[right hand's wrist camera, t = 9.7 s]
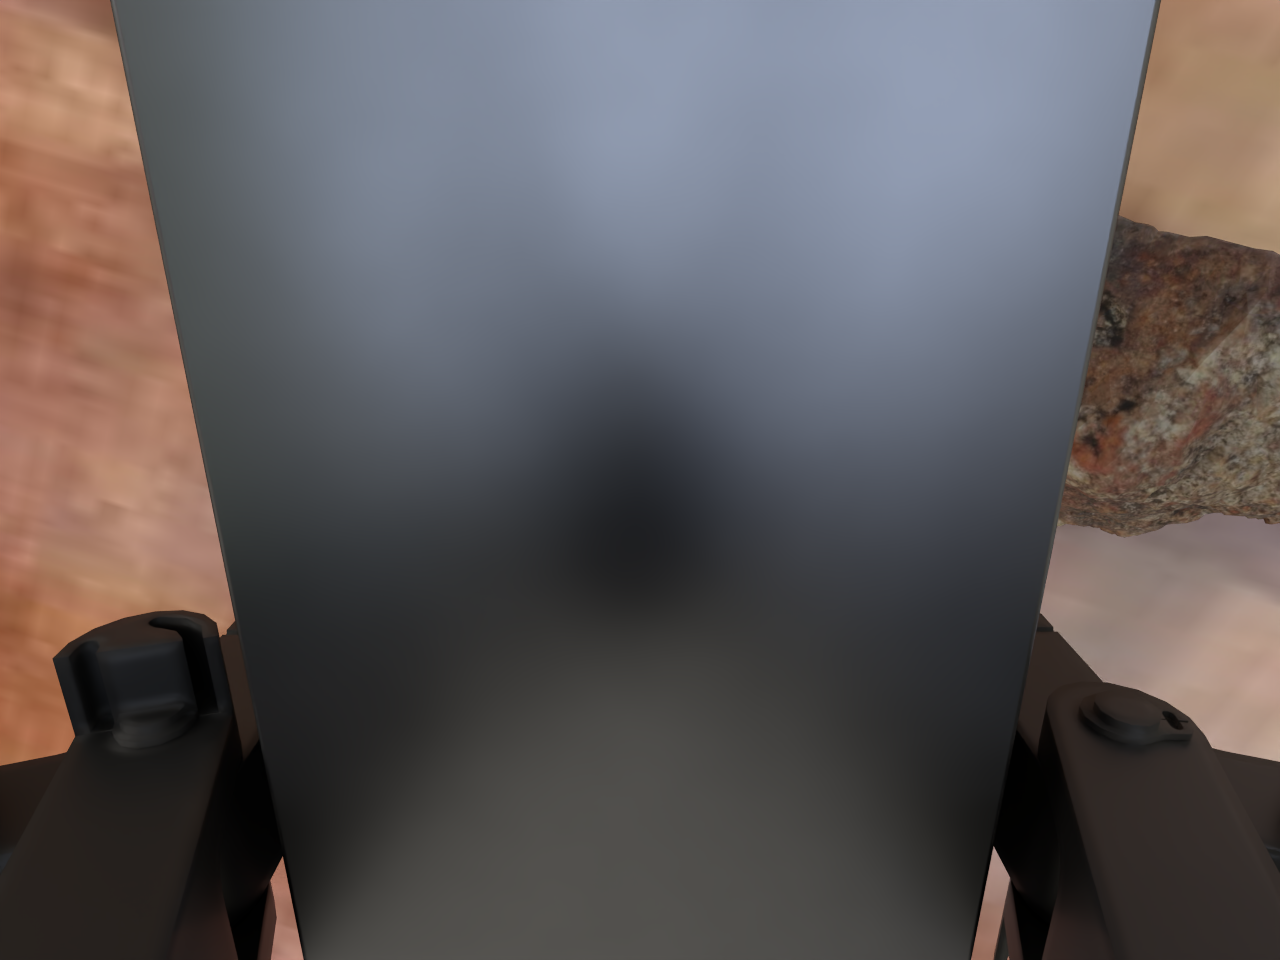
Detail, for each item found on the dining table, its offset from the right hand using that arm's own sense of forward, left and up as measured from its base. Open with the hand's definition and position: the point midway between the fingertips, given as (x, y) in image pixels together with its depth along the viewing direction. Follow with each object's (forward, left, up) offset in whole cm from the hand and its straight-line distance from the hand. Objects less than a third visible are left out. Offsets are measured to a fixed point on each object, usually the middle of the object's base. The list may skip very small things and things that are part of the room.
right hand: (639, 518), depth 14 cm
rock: (+3, -15, -14) cm, 20 cm away
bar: (+8, +2, -1) cm, 9 cm away
